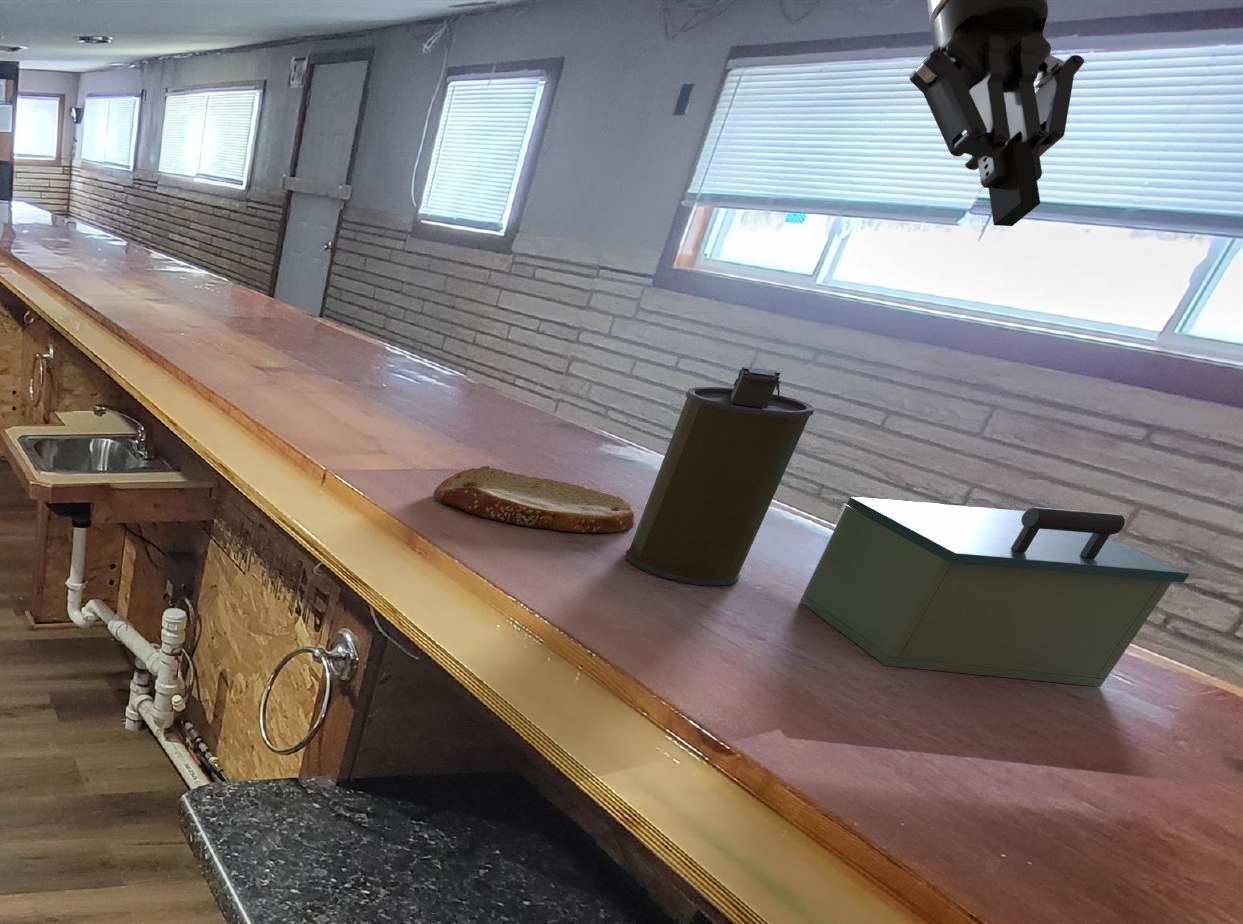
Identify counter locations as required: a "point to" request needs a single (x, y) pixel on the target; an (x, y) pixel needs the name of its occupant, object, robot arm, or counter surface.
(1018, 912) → the counter surface
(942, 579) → the box
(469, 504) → the bread slice
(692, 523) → the canister
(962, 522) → the lid
